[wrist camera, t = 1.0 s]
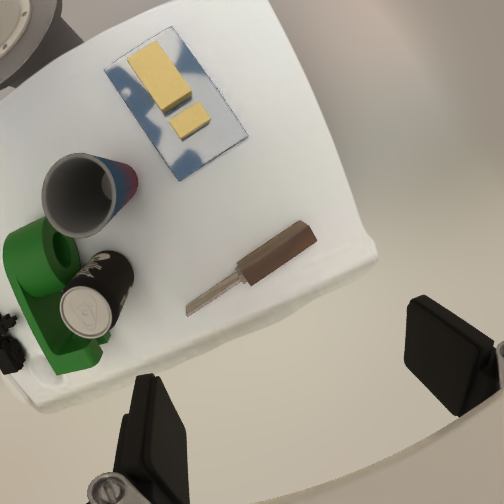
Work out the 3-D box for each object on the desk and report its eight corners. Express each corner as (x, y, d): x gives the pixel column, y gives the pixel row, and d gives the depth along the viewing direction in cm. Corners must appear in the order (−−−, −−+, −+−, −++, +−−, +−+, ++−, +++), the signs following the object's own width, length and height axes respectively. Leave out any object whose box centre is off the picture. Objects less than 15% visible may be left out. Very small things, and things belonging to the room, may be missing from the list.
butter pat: (170, 123, 34) (168, 120, 31) (198, 105, 34) (199, 100, 31) (181, 140, 35) (180, 138, 32) (209, 122, 35) (211, 118, 32)
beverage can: (129, 245, 38) (106, 279, 27) (139, 293, 40) (122, 340, 29) (84, 252, 37) (48, 286, 26) (94, 298, 39) (67, 343, 28)
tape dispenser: (-7, 239, 26) (33, 219, 27) (28, 226, 35) (64, 209, 35) (56, 375, 31) (97, 366, 32) (76, 341, 40) (112, 331, 40)
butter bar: (130, 66, 31) (126, 58, 28) (158, 48, 31) (156, 40, 28) (163, 114, 34) (161, 110, 31) (192, 95, 34) (191, 90, 31)
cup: (94, 211, 36) (44, 239, 22) (93, 157, 34) (40, 157, 20) (145, 209, 37) (118, 237, 23) (145, 154, 35) (116, 149, 21)
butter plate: (105, 71, 31) (103, 69, 31) (171, 28, 31) (171, 25, 30) (179, 181, 37) (179, 181, 36) (247, 136, 37) (248, 135, 36)
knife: (308, 234, 42) (317, 240, 39) (191, 313, 42) (192, 325, 39) (299, 220, 41) (308, 225, 38) (181, 300, 41) (180, 311, 38)
